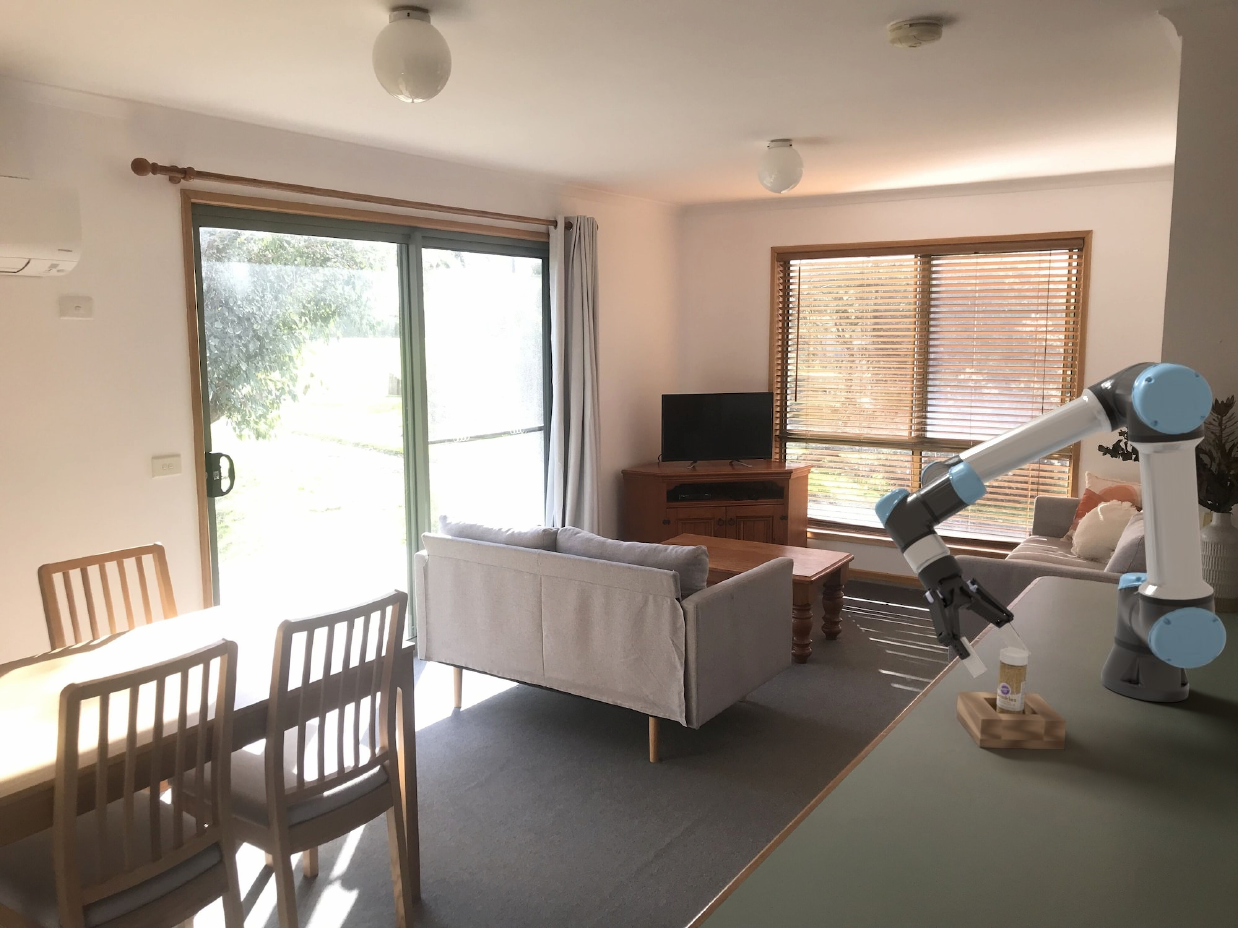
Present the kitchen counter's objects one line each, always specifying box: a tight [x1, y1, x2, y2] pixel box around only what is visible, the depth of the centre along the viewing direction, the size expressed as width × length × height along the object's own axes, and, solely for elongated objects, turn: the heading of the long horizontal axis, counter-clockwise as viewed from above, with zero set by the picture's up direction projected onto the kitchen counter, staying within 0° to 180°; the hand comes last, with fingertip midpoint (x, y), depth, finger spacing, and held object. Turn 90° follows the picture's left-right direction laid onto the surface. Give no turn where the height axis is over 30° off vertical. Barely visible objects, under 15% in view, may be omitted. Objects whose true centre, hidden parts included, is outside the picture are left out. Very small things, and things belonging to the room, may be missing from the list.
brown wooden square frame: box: [956, 691, 1067, 750], centre depth 160 cm, size 14×12×5 cm
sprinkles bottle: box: [996, 647, 1029, 714], centre depth 159 cm, size 5×5×13 cm
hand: (1003, 666), depth 160 cm, fingers open, 13 cm apart
